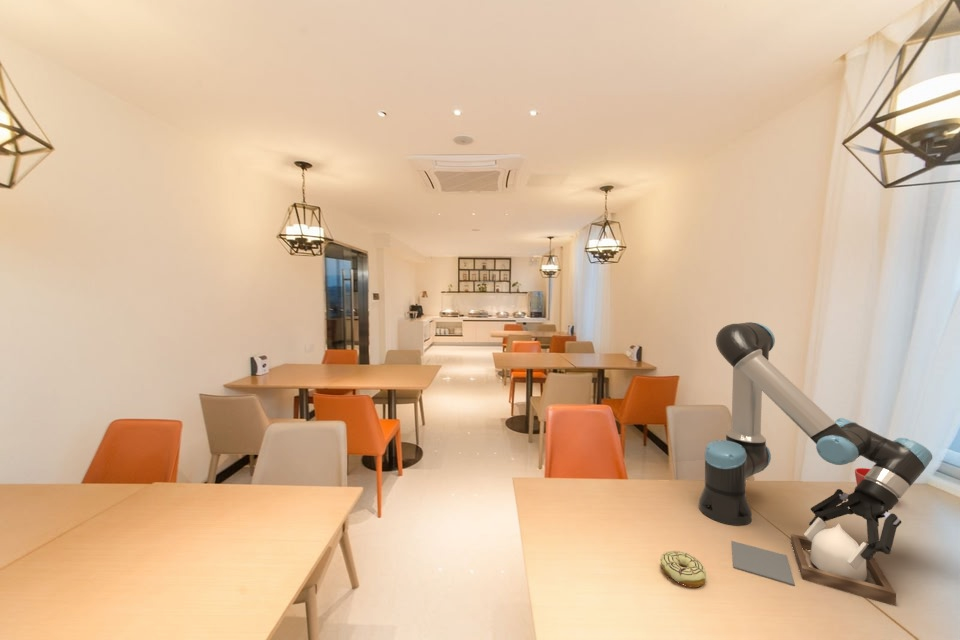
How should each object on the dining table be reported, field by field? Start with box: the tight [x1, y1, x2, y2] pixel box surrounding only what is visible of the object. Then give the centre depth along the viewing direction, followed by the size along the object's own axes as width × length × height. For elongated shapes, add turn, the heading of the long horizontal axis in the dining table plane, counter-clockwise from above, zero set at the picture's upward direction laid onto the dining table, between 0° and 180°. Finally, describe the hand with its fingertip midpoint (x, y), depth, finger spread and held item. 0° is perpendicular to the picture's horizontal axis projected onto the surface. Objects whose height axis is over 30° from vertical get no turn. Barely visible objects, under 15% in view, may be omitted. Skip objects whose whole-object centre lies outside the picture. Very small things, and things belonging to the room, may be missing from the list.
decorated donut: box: [660, 550, 707, 588], centre depth 100 cm, size 10×11×4 cm
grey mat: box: [731, 540, 796, 587], centre depth 105 cm, size 13×13×1 cm
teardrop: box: [809, 523, 868, 582], centre depth 100 cm, size 11×11×12 cm
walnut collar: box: [790, 533, 897, 607], centre depth 101 cm, size 17×17×3 cm
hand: (828, 551), depth 100 cm, fingers closed on teardrop, 10 cm apart
